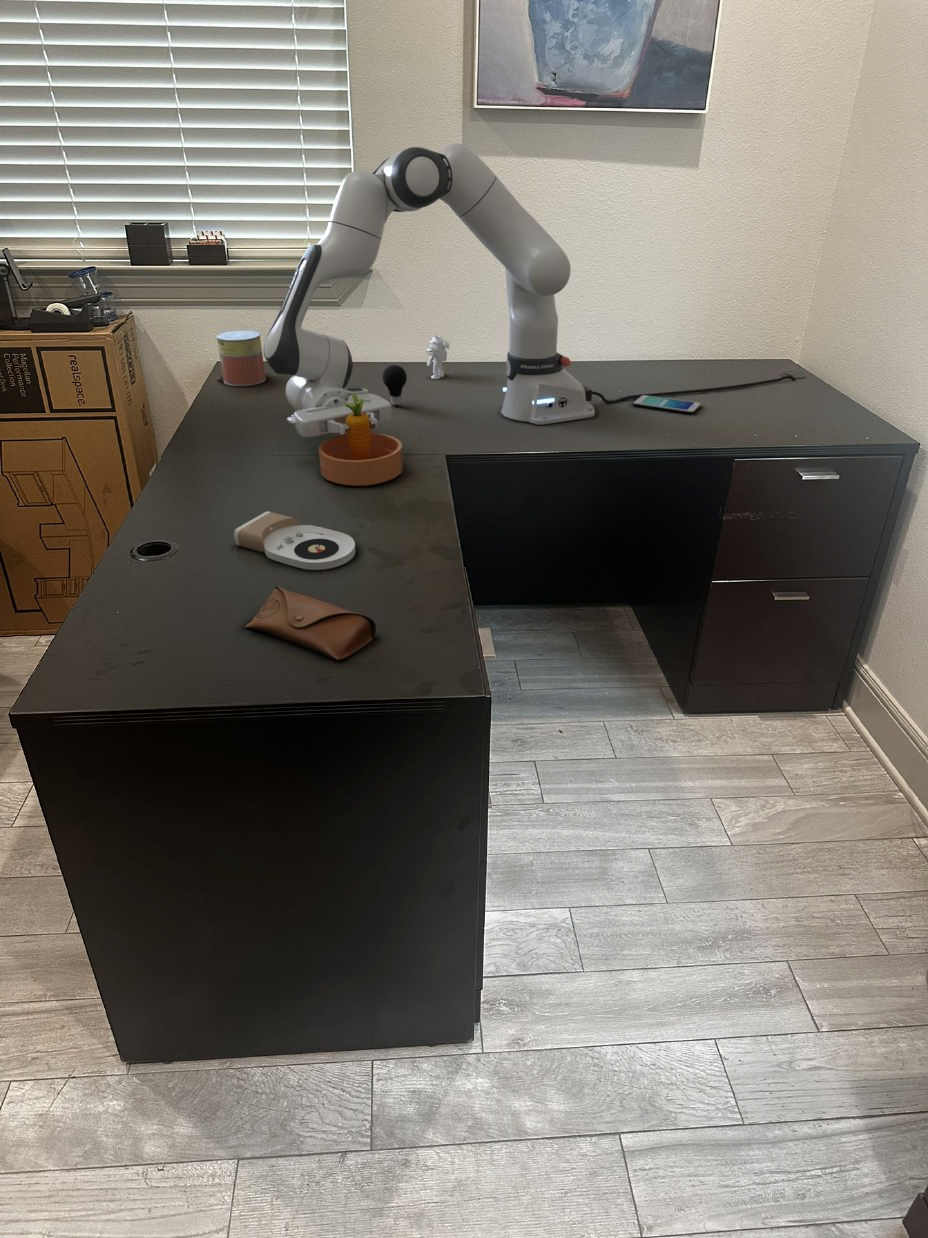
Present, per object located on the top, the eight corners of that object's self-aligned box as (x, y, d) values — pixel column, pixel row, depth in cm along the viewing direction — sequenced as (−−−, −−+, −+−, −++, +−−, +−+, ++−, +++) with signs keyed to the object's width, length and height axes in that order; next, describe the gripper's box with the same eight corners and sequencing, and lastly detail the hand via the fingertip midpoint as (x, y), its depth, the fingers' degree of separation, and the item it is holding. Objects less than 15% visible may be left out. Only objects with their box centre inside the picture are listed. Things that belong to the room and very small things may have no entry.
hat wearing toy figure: (435, 381, 225) (434, 336, 218) (423, 379, 226) (421, 334, 220) (452, 373, 231) (452, 329, 225) (441, 371, 233) (440, 327, 227)
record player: (273, 507, 147) (367, 531, 139) (275, 523, 149) (369, 547, 141) (228, 532, 139) (326, 560, 131) (231, 549, 140) (328, 577, 132)
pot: (396, 454, 178) (395, 429, 175) (408, 483, 164) (407, 457, 161) (318, 461, 175) (316, 435, 172) (324, 491, 161) (321, 464, 158)
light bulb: (380, 407, 206) (377, 367, 200) (390, 401, 210) (388, 361, 205) (401, 410, 204) (399, 369, 198) (411, 403, 208) (410, 363, 203)
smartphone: (642, 394, 211) (701, 402, 204) (642, 397, 211) (701, 406, 205) (632, 402, 205) (693, 411, 199) (632, 405, 205) (692, 414, 199)
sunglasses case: (239, 626, 119) (250, 581, 118) (271, 628, 125) (281, 585, 124) (341, 662, 111) (353, 614, 110) (369, 662, 117) (381, 616, 117)
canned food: (226, 375, 231) (219, 330, 225) (267, 373, 232) (262, 329, 226) (221, 386, 222) (213, 340, 215) (263, 385, 223) (257, 339, 217)
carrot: (369, 474, 167) (364, 400, 159) (345, 472, 168) (339, 399, 160) (376, 465, 171) (372, 393, 163) (353, 463, 172) (347, 391, 164)
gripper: (281, 402, 167) (310, 421, 158) (372, 386, 177) (404, 402, 167) (285, 433, 171) (313, 453, 161) (373, 415, 180) (405, 433, 170)
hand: (360, 427), depth 164 cm, fingers closed on carrot, 5 cm apart
